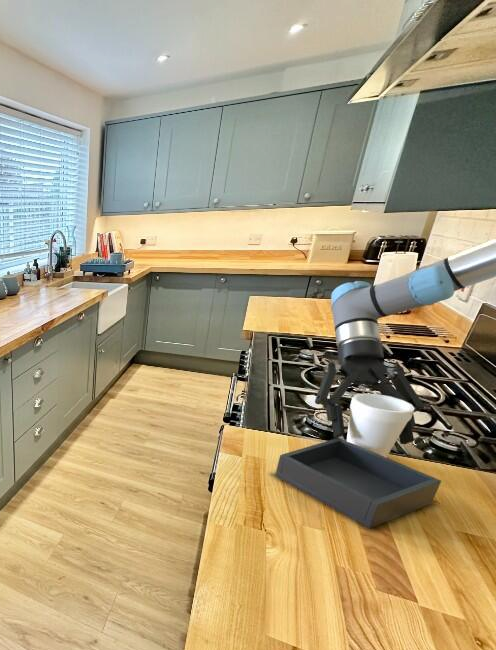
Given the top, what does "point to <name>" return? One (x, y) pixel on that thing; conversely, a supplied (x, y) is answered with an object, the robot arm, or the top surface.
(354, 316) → the robot arm
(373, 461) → the tray
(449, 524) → the top surface
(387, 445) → the foam cup
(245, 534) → the top surface
